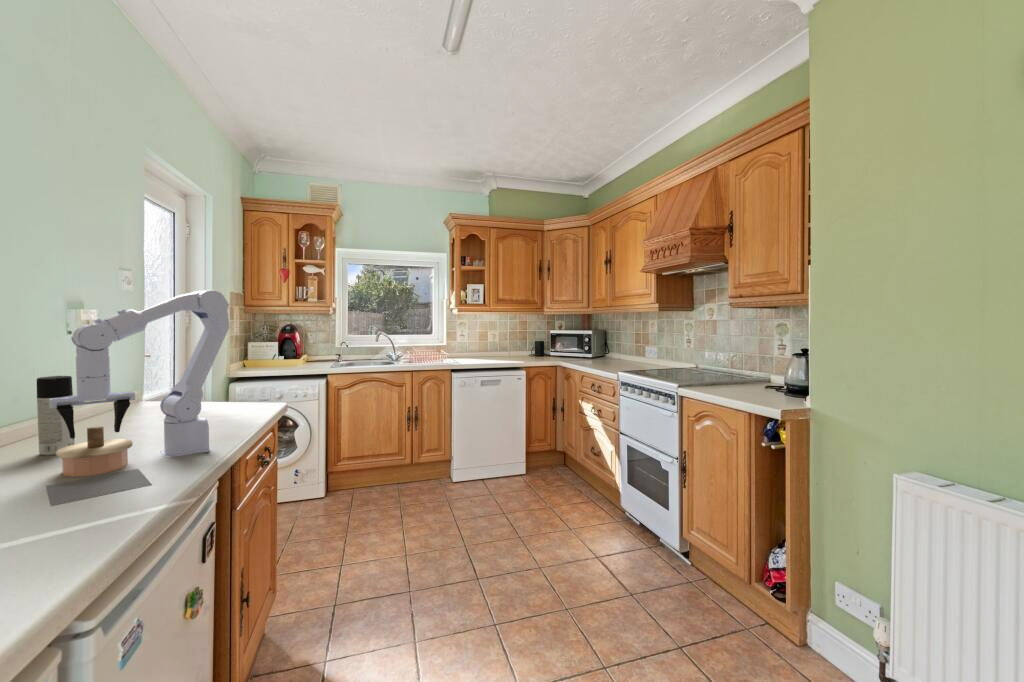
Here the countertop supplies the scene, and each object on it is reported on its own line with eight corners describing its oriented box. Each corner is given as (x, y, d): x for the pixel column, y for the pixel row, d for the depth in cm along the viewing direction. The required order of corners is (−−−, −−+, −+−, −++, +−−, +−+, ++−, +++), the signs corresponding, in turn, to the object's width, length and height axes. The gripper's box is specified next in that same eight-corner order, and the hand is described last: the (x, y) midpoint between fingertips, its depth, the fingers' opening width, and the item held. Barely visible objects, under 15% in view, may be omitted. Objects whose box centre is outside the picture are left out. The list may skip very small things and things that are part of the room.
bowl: (122, 460, 114) (122, 440, 113) (131, 470, 106) (130, 449, 106) (61, 470, 105) (60, 449, 105) (65, 482, 98) (64, 459, 98)
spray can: (80, 450, 121) (78, 376, 121) (48, 457, 115) (45, 379, 114) (65, 447, 124) (63, 374, 123) (32, 454, 117) (29, 377, 116)
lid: (135, 439, 114) (134, 419, 114) (129, 452, 104) (128, 429, 103) (63, 447, 107) (63, 425, 107) (49, 461, 96) (48, 437, 96)
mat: (138, 471, 106) (138, 468, 106) (152, 487, 96) (152, 484, 96) (46, 488, 94) (46, 485, 94) (51, 508, 85) (51, 505, 84)
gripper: (130, 372, 113) (132, 426, 114) (47, 377, 102) (49, 437, 103) (136, 375, 108) (137, 431, 109) (49, 380, 97) (52, 442, 98)
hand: (95, 434), depth 105 cm, fingers open, 7 cm apart
